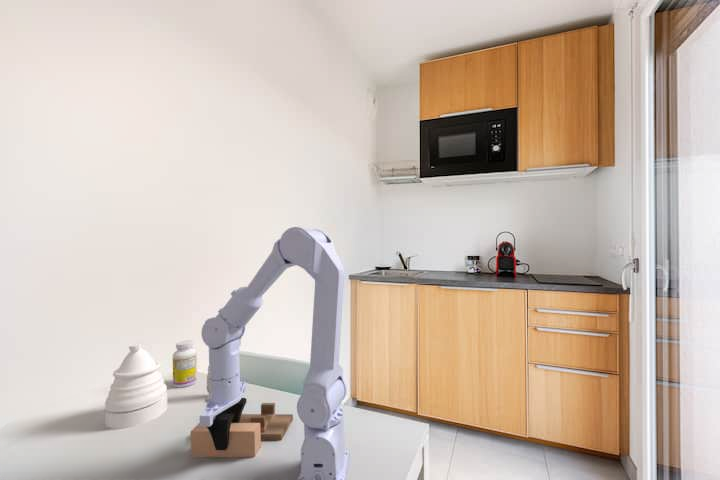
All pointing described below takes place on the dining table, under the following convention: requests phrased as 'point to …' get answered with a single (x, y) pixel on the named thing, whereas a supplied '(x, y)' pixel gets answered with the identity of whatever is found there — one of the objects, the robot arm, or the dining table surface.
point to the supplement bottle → (184, 364)
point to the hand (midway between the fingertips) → (226, 443)
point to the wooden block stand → (269, 422)
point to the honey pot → (136, 391)
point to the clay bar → (240, 441)
